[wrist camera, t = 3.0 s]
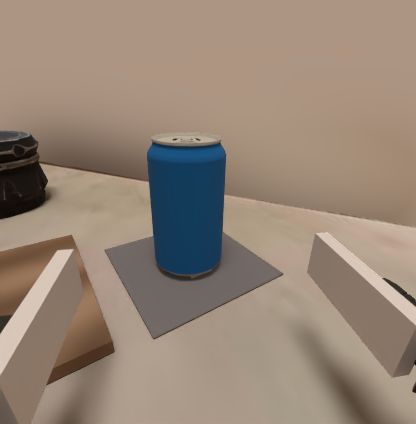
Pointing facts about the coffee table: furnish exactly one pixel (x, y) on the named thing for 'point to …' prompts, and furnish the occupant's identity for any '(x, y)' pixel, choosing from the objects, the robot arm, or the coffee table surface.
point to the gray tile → (185, 282)
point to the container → (20, 174)
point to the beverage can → (187, 201)
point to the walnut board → (84, 316)
